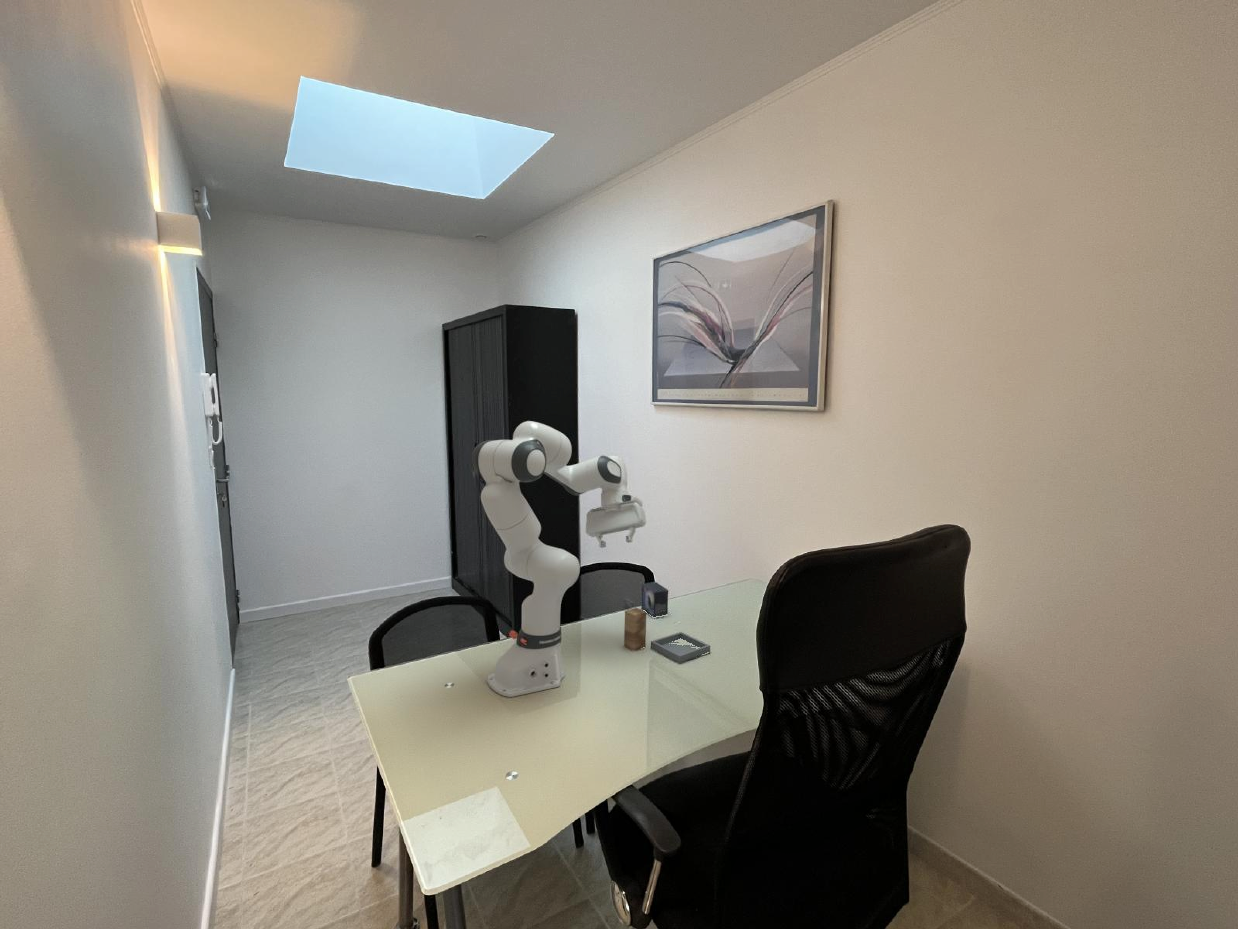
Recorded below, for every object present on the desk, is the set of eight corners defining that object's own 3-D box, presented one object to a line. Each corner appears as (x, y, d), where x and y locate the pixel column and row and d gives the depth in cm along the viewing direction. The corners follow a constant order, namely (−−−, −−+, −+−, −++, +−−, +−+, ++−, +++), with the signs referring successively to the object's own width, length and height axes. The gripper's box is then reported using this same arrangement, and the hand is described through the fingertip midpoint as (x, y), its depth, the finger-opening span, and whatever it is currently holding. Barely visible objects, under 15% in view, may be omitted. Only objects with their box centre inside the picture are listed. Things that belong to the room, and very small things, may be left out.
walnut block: (633, 651, 192) (634, 615, 191) (624, 645, 196) (624, 610, 195) (645, 647, 195) (646, 612, 194) (635, 642, 199) (636, 607, 198)
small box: (639, 609, 229) (640, 583, 228) (654, 607, 232) (655, 581, 231) (652, 619, 220) (653, 591, 219) (668, 616, 223) (669, 589, 221)
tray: (679, 664, 184) (679, 656, 184) (650, 648, 195) (650, 641, 194) (710, 653, 192) (710, 645, 192) (680, 638, 203) (681, 631, 203)
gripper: (581, 507, 195) (582, 547, 189) (638, 494, 187) (640, 535, 181) (591, 513, 200) (591, 552, 194) (646, 501, 192) (649, 541, 186)
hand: (615, 544), depth 187 cm, fingers open, 8 cm apart
